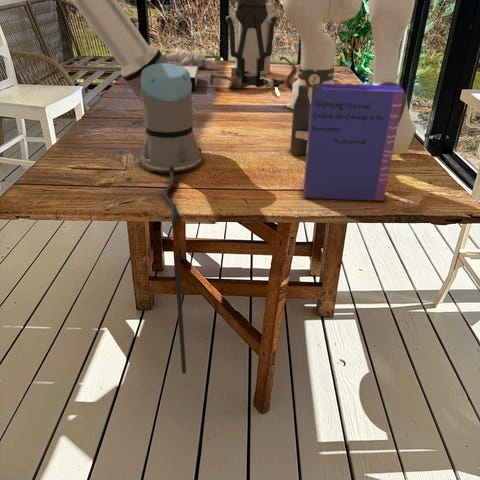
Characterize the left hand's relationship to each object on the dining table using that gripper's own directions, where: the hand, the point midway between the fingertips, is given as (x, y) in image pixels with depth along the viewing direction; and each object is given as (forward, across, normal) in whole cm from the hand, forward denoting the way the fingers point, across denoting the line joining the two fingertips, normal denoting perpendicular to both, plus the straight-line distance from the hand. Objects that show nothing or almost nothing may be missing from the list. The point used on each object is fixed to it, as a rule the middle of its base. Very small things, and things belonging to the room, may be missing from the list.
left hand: (250, 82), depth 133 cm
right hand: (+10, +11, -13) cm, 20 cm away
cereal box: (+16, +16, -42) cm, 47 cm away
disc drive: (+16, -21, +67) cm, 72 cm away
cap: (-2, 0, 0) cm, 2 cm away
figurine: (+16, +7, +59) cm, 61 cm away
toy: (+16, -16, +102) cm, 104 cm away
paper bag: (+16, +14, +88) cm, 90 cm away
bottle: (+16, +12, -14) cm, 24 cm away
